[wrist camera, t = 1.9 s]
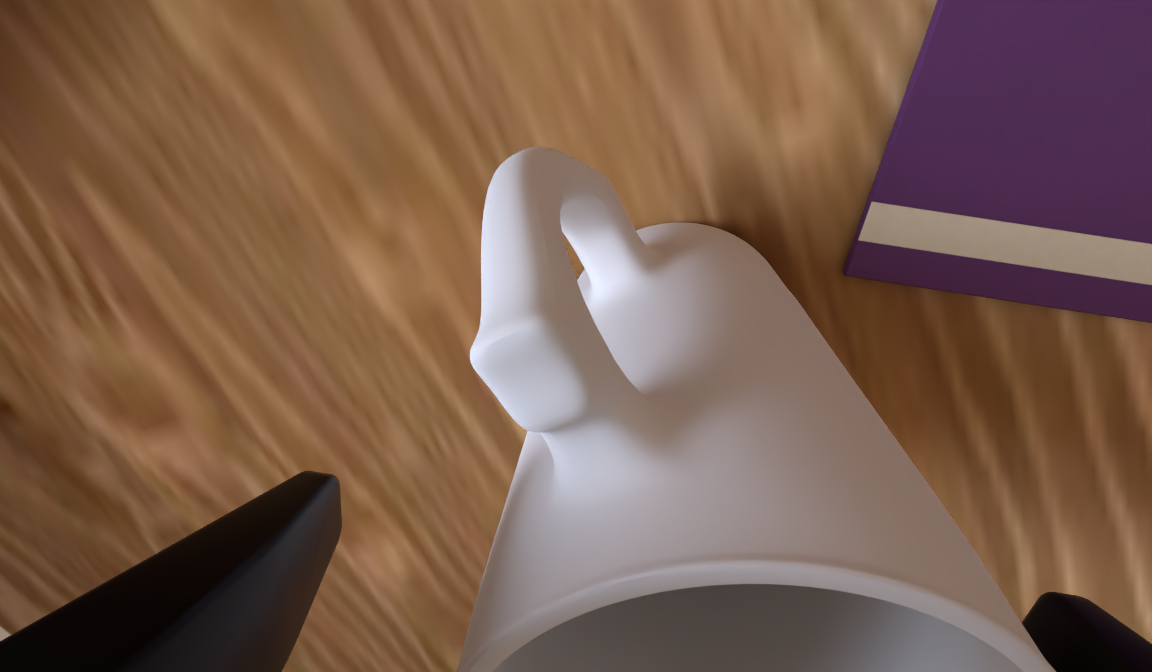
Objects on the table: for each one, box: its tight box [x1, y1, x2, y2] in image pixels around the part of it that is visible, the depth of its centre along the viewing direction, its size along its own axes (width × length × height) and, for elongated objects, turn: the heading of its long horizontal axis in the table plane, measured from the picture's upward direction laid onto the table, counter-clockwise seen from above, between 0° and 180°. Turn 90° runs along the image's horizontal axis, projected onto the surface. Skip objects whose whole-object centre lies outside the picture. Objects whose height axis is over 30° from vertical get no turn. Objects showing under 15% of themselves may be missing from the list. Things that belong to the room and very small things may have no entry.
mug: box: [457, 147, 1056, 672], centre depth 11 cm, size 10×7×12 cm, turn 28°
